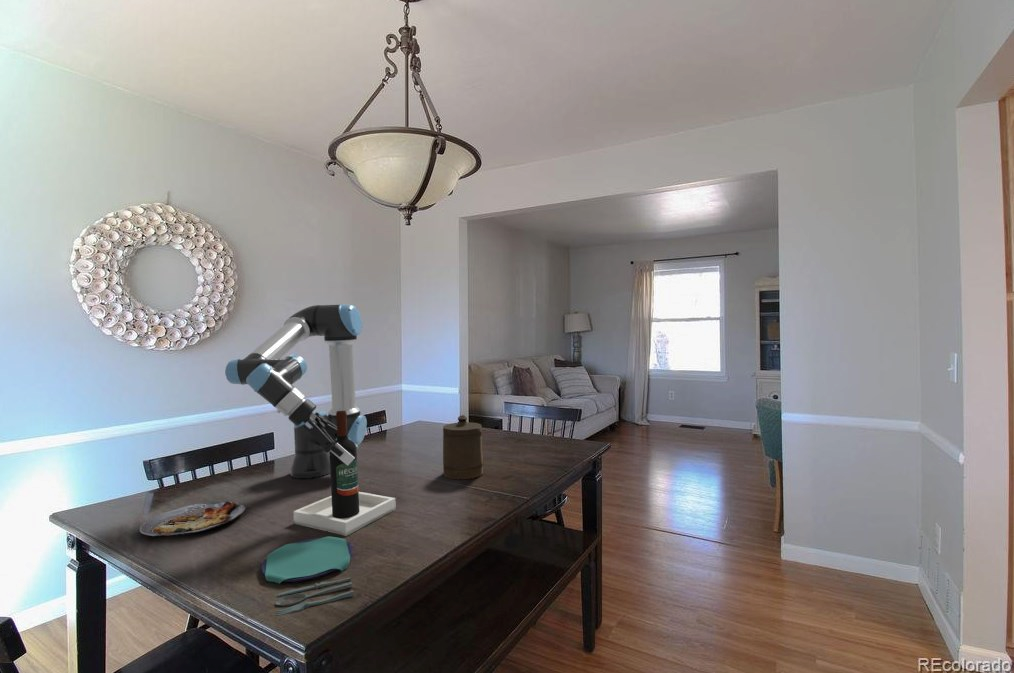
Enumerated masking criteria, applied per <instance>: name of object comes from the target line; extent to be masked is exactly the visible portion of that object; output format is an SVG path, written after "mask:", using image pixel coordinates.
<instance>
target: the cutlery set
mask: <svg viewBox="0 0 1014 673" xmlns="http://www.w3.org/2000/svg"><path fill="white" fill-rule="evenodd" d="M353 549H354V547H353V546H352V544H351V543H350V542H349V541H347V539H346V538H344V537H343V538H341V537H336V536H335V537H334V536H323V537H316V538H309V539H305V540H302V541H301V540H300V541H297V542H293V543H287V544H284V545H282V546H281V547H280V546H279V547H278V548H277V549H274V550H273V551H271V552H270V553H268V554H267V556H266V558H265V559H264V560H263V562H262V565H261V567H260V568H261V572H262V574H263V575H264V578H265V580H266V581H268V582H272V583H276V584H279V585H280V584H281V583H282V582H298V581H306V580H311V579H315V578H318V577H321V576H325V575H327V574H329V573H332V572H333V571H335V570H340V571H341V572H343V571H344V570H345V569H347V567H348V566H349V564H350V563H351V558H352V556H353V551H354V550H353ZM344 581H349V582H346V583H343V584H339V585H335V586H332V587H328V588H325V587H326V586H327V585H331V584H335V583H339V582H344ZM352 585H353V583H352V582H351V576H349V577H346V578H342V579H337V580H332V581H327V582H326V581H321V582H320V583H317V582H315V584H314V585H309V586H304V587H299V588H295V589H290V590H287V591H283V592H280V593H277V594H276V598H279V597H281V598H280V599H278V600H276V601H275V605H277V606H283V607H287V606H290V607H287V608H283V609H279V610H275V616H276V617H278V616H281V615H286V614H291V613H296V612H300V611H303V610H305V609H306V608H310V606H317V605H323V604H326V603H327V604H328V603H331V602H334V601H339V600H342V599H345V598H352V597H353V596H354V594H355V592H354V590H349V591H346V592H342V593H340V594H338V595H333V596H330V597H327V598H324V599H320V600H314V601H309V600H307V601H304V600H306V599H308V598H311V597H316V596H318V595H322V594H326V593H328V592H329V593H330V592H332V591H339V590H342V589H347V588H352ZM319 588H325V589H324V590H320V591H316V592H315V593H311V594H309V595H308V594H306V593H300V592H304V591H308V590H313V589H316V590H317V589H319ZM283 596H284V597H283ZM293 598H302V599H300V600H297V601H295V602H292V603H286V604H285V603H284V604H281V603H282V602H285V601H287V600H289V599H293Z"/></svg>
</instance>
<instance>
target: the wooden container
mask: <svg viewBox="0 0 1014 673" xmlns="http://www.w3.org/2000/svg"><path fill="white" fill-rule="evenodd" d="M467 419H468V418H467V416H465V414H464V415H463V414H461V415H459V416H458V417H457V422H453V423H448V424H445V425H443V426H442V433H443V435H442V438H443V439H442V442H443V443H442V462H443V463H442V465H443V466H442V467H443V469H442V470H443V476H444V477H445V478H447V479H452V480H459V479H461V480H470V479H471V478H472V479H476V478H478V476H479V477H480V476H482V475H484V474H483V473H484V464H483V463H484V461H483V460H484V455H483V454H484V453H483V436H482V434H483V431H482V430H483V428H482V427H483V426H482V424H481V423H477V422H469V421H467ZM475 477H476V478H475Z"/></svg>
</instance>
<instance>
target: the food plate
mask: <svg viewBox="0 0 1014 673" xmlns="http://www.w3.org/2000/svg"><path fill="white" fill-rule="evenodd" d="M211 507H213V508H220V509H218V510H216V509H213V508H211ZM201 508H206V509H205V512H204V514H201V515H202V516H201V515H200V516H199V514H193V515H190V516H181V517H177V518H176V519H172V520H170V521H168V522H169V523H175V522H187V521H195V520H197V519H199V518H200V517H203V518H204V519H210V520H202V521H196V522H188V523H182V524H174V525H169V524H168V522H167V524H165V525H161V526H159V527H157V528H156V529H154V528H155V527H156V526H157V525H158V524H160V523H161V522H165V520H167V519H170V518H173V517H175V516H178V515H181V514H183V513H184V512H186V513H188V512H187V511H188V510H197V509H201ZM246 510H247V507H246V506H245V504H244V503H242V502H237V501H228V500H227V501H215V502H214V501H213V502H204V503H203V502H202V503H195V504H190V505H187V506H186V505H185V506H183V507H179V508H176V509H173V510H169V511H166V512H163V513H161V514H158V515H156V516H153V517H152V518H149V519H148V520H146V521H145V522H144V523H142V524H141V525H140V527H139V532H140V534H142V535H146V536H150V537H151V536H152V537H156V536H159V537H160V536H169V537H170V536H173V535H174V536H176V535H184V536H185V534H191V533H198V532H204V531H208V530H212V529H213V528H217V527H219V526H222V525H225V524H227V523H229V522H232V521H234V520H236V518H238V517H240V516H241V515H242V514H243V513H245V511H246ZM190 512H192V511H190ZM228 515H229V516H228ZM173 526H174V527H173ZM151 527H152V528H151ZM168 528H169V529H168ZM153 529H154V530H153ZM172 529H176V530H172ZM152 530H153V532H152Z"/></svg>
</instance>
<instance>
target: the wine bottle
mask: <svg viewBox="0 0 1014 673" xmlns="http://www.w3.org/2000/svg"><path fill="white" fill-rule="evenodd" d="M346 416H347V413H346V411H345V410H343V411H337V412H336V417H337V440H336V441H335V443H338V444H339V445H341V446H342V447H343V448H344V449H345V450H346V451H348V452H349V453H350V454H351V455H352V456H353V457H355V459H354V460H353V461H352V462H351V463H350V464H349V465H348V466H347V465H346V464H345V463H344V462H343V461H341V460H340V459H339V458H338V457H337V456H335V455H334V454H333V453H332V452H331V451H329V452H328V454H329V457H330V473H329V476H330V490H331V493H330V494H331V495H330V496H332V516H333V517H335V518H348V517H352V516H354V515H356V514H358V513H359V492H360V491H359V475H358V457H357V456H358V450H357V449H358V448H357V449H356V444H355V443H354V442H353V441H351V440H350V439H348V436H347V418H346Z"/></svg>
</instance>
